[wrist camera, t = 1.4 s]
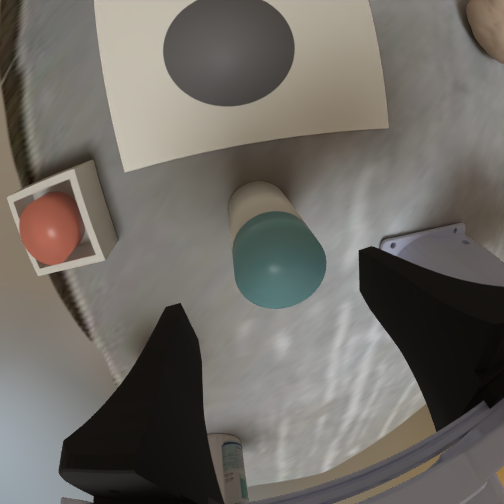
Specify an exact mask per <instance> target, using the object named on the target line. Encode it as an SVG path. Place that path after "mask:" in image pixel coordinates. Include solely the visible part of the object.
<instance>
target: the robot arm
mask: <svg viewBox="0 0 504 504" xmlns="http://www.w3.org/2000/svg"><path fill="white" fill-rule="evenodd" d="M454 229H455V230H454ZM465 231H466V225H465V224H464V223H457V224H452V225H448V226H444V227H439V228H435V229H430V230H426V231H421V232H417V233H412V234H408V235H403V236H398V237H394V238H389V239H385V240H384V241H382V243H381V246H380V249H378V248H375V247H373V246H371V247H368V248H365V249H362V250H359V281H360V292H361V294H362V296H363V298H364V299H365V301H366V303H367V305H368V306H369V308H370V310H371V311H372V313H373V314H374V315H375V317H376V318H377V319H378V321H379V322H380V323H381V325H382V326H383V327H384V329H385V330H386V331H387V333H388V334H389V335H390V337H391V338H392V339H393V341H394V342H395V344H396V345H397V346H398V348H399V349H400V351H401V352H402V354H403V356H404V358H405V359H406V361H407V363H408V365H409V367H410V369H411V371H412V372H413V375H414V377H415V379H416V381H417V383H418V385H419V387H420V389H421V391H422V394H423V396H424V399H425V401H426V403H427V406H428V408H429V411H430V414H431V417H432V420H433V422H434V425H435V429H436V433H434V434H433V435H431V436H429V437H428V438H426V439H424V440H422V441H420V442H419V443H417V444H415V445H413V446H411V447H409V448H407V449H405V450H403V451H402V452H399V453H398V454H395V455H393V456H391V457H389V458H387V459H385V460H383V461H380V462H378V463H376V464H374V465H371V466H369V467H367V468H365V469H362V470H359V471H357V472H355V473H352V474H349V475H347V476H344V477H341V478H338V479H335V480H333V481H330V482H327V483H324V484H321V485H318V486H314V487H311V488H308V489H304V490H301V491H297V492H293V493H290V494H285V495H281V496H277V497H273V498H268V499H263V500H258V501H254V502H248V503H242V504H333V503H336V502H338V501H341V500H344V499H347V498H350V497H352V496H355V495H357V494H360V493H363V492H365V491H367V490H370V489H372V488H374V487H377V486H379V485H381V484H384V483H386V482H388V481H390V480H392V479H394V478H396V477H398V476H400V475H402V474H404V473H406V472H408V471H410V470H412V469H414V468H416V467H418V466H419V465H421V464H423V463H425V462H426V461H428V460H430V459H431V458H433V457H435V456H437V455H438V454H440V453H442V452H443V451H445V450H446V449H448V448H449V449H448V450H446V451H445V452H444V453H442V454H441V455H440V457H439V459H438V460H437V461H436V462H435V463H434V464H433V465H432V466H431V467H430V468H429V469H428V470H426V471H425V472H423V473H421V474H419V475H417V476H415V477H413V478H411V479H409V480H407V481H405V482H403V483H401V484H399V485H397V486H395V487H393V488H391V489H388V490H386V491H384V492H382V493H380V494H377V495H375V496H373V497H370V498H368V499H366V500H364V501H361V502H358V503H356V504H504V488H503V485H502V484H501V482H500V480H499V478H498V476H497V474H496V472H497V471H498V470H500V469H501V468H502V467H503V466H504V262H503V261H501V260H500V259H499V258H498V257H496V256H495V255H494V254H492V253H491V252H490V251H488V250H487V249H485V248H484V247H483V246H481V245H480V244H478V243H477V242H476V241H474V240H473V239H471V238H470V237H469V236H467V235H466V234H465ZM392 243H393V245H392V246H391V244H392ZM451 446H452V447H451ZM59 474H60V476H61V477H62V478H63V479H64V480H65V481H66V482H68V483H70V484H72V485H73V486H75V487H77V488H79V489H80V490H82V491H84V492H86V493H88V494H90V495H93V496H94V503H92V502H88V501H83V500H77V499H69V498H64V497H62V498H61V504H225V503H224V500H223V497H222V494H221V490H220V487H219V484H218V480H217V476H216V473H215V469H214V465H213V460H212V456H211V451H210V447H209V442H208V437H207V431H206V425H205V419H204V410H203V384H202V360H201V353H200V347H199V341H198V338H197V336H196V334H195V332H194V330H193V328H192V326H191V324H190V322H189V320H188V318H187V315H186V313H185V311H184V309H183V307H182V305H181V303H179V304H175V305H171V306H168V307H166V308H165V310H164V312H163V313H162V315H161V317H160V319H159V321H158V323H157V325H156V327H155V329H154V331H153V333H152V335H151V337H150V338H149V340H148V342H147V344H146V346H145V348H144V349H143V351H142V353H141V355H140V356H139V358H138V360H137V361H136V363H135V365H134V366H133V368H132V369H131V371H130V372H129V374H128V375H127V376H126V378H125V379H124V381H123V382H122V383H121V385H120V386H119V387H118V388H117V390H116V391H115V392H114V393H113V394H112V396H111V397H110V398H109V399H108V400H107V401H106V403H105V404H104V405H103V406H102V407H101V408H100V409H99V410H98V411H97V412H96V413H95V414H94V415H93V416H92V417H91V418H90V419H89V420H88V421H87V422H86V423H85V424H84V425H83V426H81V427H80V428H79V429H78V430H76V431H75V432H74V433H73V434H71V435H70V436H69V437H68V438H66V439H65V440H64V441H63V447H62V452H61V459H60V465H59Z"/></svg>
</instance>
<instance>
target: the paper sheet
mask: <svg viewBox="0 0 504 504" xmlns="http://www.w3.org/2000/svg"><path fill="white" fill-rule="evenodd" d="M94 7H95V17H96V27H97V35H98V43H99V50H100V57H101V64H102V70H103V76H104V82H105V87H106V93H107V98H108V103H109V108H110V113H111V117H112V122H113V127H114V131H115V135H116V140H117V144H118V148H119V152H120V156H121V160H122V164H123V168H124V171H125V172H128V171H132V170H135V169H139V168H143V167H146V166H150V165H154V164H158V163H162V162H166V161H170V160H174V159H178V158H182V157H186V156H191V155H195V154H199V153H204V152H209V151H214V150H218V149H223V148H229V147H234V146H239V145H245V144H251V143H256V142H262V141H269V140H275V139H282V138H289V137H297V136H304V135H313V134H322V133H331V132H342V131H354V130H368V129H386V128H389V122H388V111H387V102H386V93H385V85H384V78H383V71H382V64H381V58H380V52H379V47H378V42H377V36H376V32H375V27H374V22H373V18H372V14H371V9H370V5H369V1H368V0H94Z"/></svg>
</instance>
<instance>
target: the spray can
mask: <svg viewBox="0 0 504 504" xmlns="http://www.w3.org/2000/svg"><path fill="white" fill-rule="evenodd" d="M207 437H208V442H209V447H210V451H211V456H212V460H213V465H214V469H215V473H216V476H217V480H218V484H219V487H220V490H221V494H222V497H223V500H224V503H225V504H242V503H248V502H249V499H248V492H247V484H246V476H245V469H244V461H243V452H242V445H241V442H240V440H239V439H238V438H237V437H234V436H232V435H227V434H209V435H207Z"/></svg>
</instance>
